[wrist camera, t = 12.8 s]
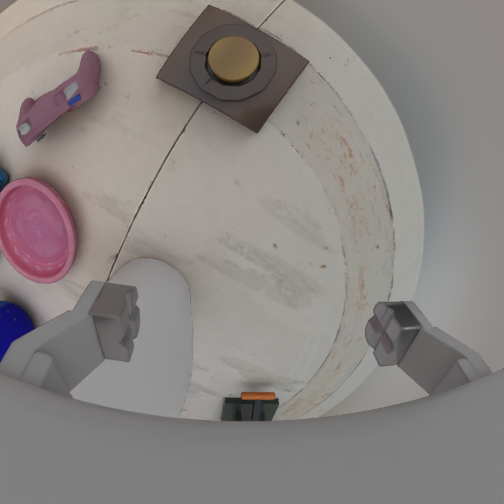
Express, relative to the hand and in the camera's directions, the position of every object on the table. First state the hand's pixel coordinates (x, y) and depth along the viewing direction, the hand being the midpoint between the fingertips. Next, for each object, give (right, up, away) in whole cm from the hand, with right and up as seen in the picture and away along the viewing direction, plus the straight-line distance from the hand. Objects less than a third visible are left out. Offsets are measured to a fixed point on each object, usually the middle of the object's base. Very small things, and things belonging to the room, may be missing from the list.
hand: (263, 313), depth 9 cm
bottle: (-12, -2, +22) cm, 25 cm away
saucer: (-25, +5, +17) cm, 30 cm away
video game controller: (-18, +17, +11) cm, 27 cm away
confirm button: (-2, +16, +9) cm, 19 cm away
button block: (-2, +18, +12) cm, 22 cm away
